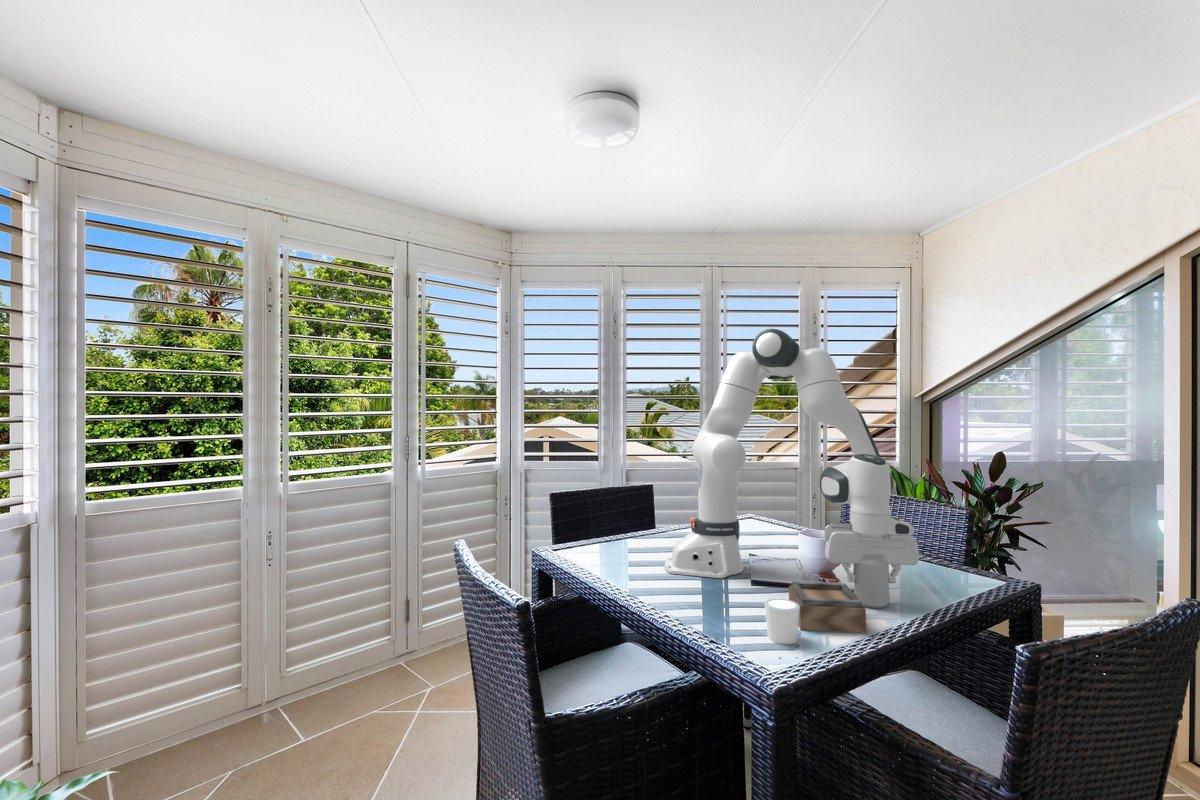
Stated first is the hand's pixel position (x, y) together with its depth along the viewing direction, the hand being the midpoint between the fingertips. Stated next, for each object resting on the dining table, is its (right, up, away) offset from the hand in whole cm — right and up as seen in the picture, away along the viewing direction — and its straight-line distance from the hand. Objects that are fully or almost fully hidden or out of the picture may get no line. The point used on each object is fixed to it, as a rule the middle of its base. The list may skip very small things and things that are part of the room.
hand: (871, 582), depth 132 cm
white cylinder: (-27, -6, -18) cm, 33 cm away
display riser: (-15, -5, -9) cm, 18 cm away
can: (0, -5, 0) cm, 5 cm away
